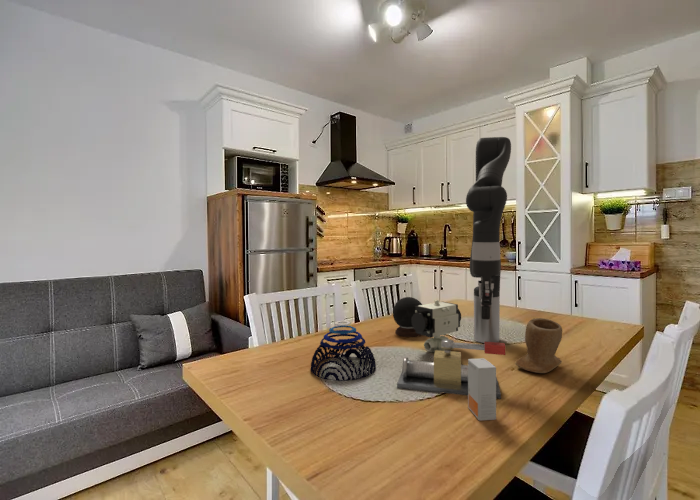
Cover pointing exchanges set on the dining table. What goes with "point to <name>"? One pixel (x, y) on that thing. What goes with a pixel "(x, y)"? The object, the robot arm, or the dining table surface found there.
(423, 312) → the ball valve
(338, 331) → the decorative bowl
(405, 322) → the black ball on base
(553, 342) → the stone cup
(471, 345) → the valve lever
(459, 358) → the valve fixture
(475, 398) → the skincare box
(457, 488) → the dining table surface
